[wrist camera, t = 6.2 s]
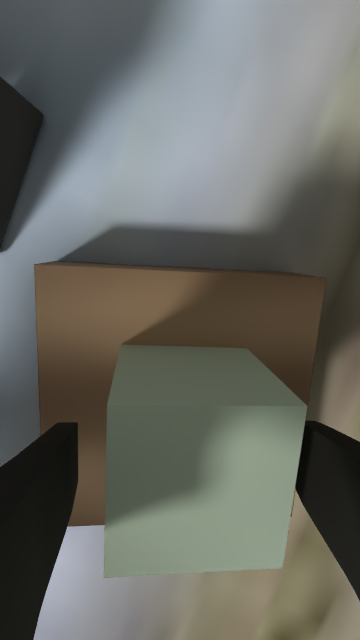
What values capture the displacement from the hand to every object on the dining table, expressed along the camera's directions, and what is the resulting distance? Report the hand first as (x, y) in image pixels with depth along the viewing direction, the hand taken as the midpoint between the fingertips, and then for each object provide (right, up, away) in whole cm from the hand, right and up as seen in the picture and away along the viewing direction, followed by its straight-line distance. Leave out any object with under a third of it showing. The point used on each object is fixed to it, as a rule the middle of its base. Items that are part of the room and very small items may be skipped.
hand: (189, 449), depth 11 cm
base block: (-1, +1, +6) cm, 6 cm away
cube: (0, +1, +3) cm, 3 cm away
